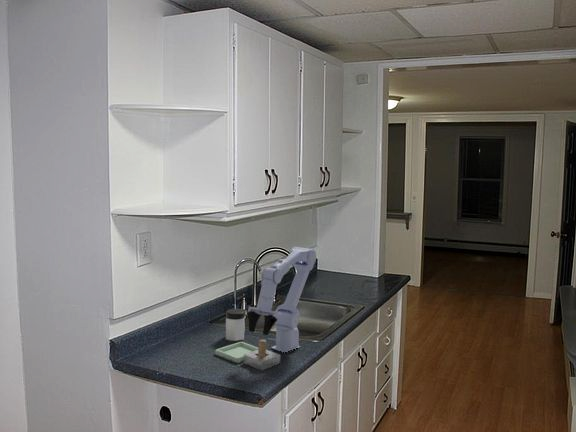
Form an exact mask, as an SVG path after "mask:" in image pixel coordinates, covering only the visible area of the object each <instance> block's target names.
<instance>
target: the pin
mask: <svg viewBox="0 0 576 432" xmlns="http://www.w3.org/2000/svg"><path fill="white" fill-rule="evenodd" d="M257 346H258V347H257V348H258V356H259V357H265V356H266V350H267V340H266V339H258V345H257Z"/></svg>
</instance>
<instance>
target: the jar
mask: <svg viewBox="0 0 576 432" xmlns="http://www.w3.org/2000/svg"><path fill="white" fill-rule="evenodd" d="M245 317H246V311H245V310H244V309H241V308H230V309H227V310H226V311H225V340H228V341H230V342H231V341H232V342H237V341H238V342H239V341H243V340H245V330H246V326H245V325H246V323H245Z"/></svg>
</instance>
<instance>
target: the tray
mask: <svg viewBox="0 0 576 432" xmlns="http://www.w3.org/2000/svg"><path fill="white" fill-rule="evenodd" d="M255 350H258V347H257V346H255V345H252V344H249V343H246V342H244V341H238V342H236V343H232V344H229V345H225V346H223V347H219V348H217V349H215V351H214V352H215V353H214V354H215V355H216V356H218V357H220V358H222V359H225V360H228V361H230V362H232V363H235V364H239V363H242V362H243V363H244V354H247V353H250V352H252V351H255Z"/></svg>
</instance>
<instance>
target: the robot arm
mask: <svg viewBox="0 0 576 432" xmlns="http://www.w3.org/2000/svg"><path fill="white" fill-rule="evenodd" d="M316 260H317V254H316V249H315V248H307V247H299V246H293V247H292V248H291V249H290V252H289V254H288V255H287V256H286V257H285V258H284V259H283V258H282V259H281V258H279V259H278V261H277V262H275V263H274V264H273V265H271V266H270V267H266V268H263V270H262V272H261V274H260V275H261V276H260V278H261V281H260V285H261V286H260V287H261V288H260V292H259V296H258V301H257V305H256V306H255V307H253V306H248V310H247V314H246V315H247V318H248V332H252V333H254V332H255V330H256V327H257V324H258V321H259V319H260V318H261V315H264V317H263V318H264V322H263V323H264V324H263V331H262V335H265V336H269V333H270V332H271V329H272V327H273V326H274V328H275V331H276V332H275V345H273V346H271V349H273V350H276V351H278V352H280V351H281V353H283V352H284V353H283V354H286V353H285V352H287V353H289V352H288V351H290V350H292V351H294V350H293V349H295V350H297V349H296V348H298V349H300V348H301V346H300V345H299V343H300V340H299V339H300V332H299V329H298V325H299V319H300V311H299V310H298V308H297V306H298V303H299V300H300V298H301V295H302V292H303V289H304V287H305V285H306V281H307V279H308V277H309V274H310V271H312V270H313V269H314V265H315V263H316ZM291 266H293V268H295V270H296V272H295V275H294V277H293V280H292V282H291V285H290V288H289V291H288V293H287V295H286V297H285V301H284V303H282V304H280V305H278V306H277V308H276V310H275V311H274V310H272V309H273V304H274V299H275V295H276V292H277V291H276V290H277V287H278V284H281V282H282V279H283V278H284V275H286V274H287V273H288V272H289V271H290V269H291ZM299 347H300V348H299ZM290 352H291V351H290Z"/></svg>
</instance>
